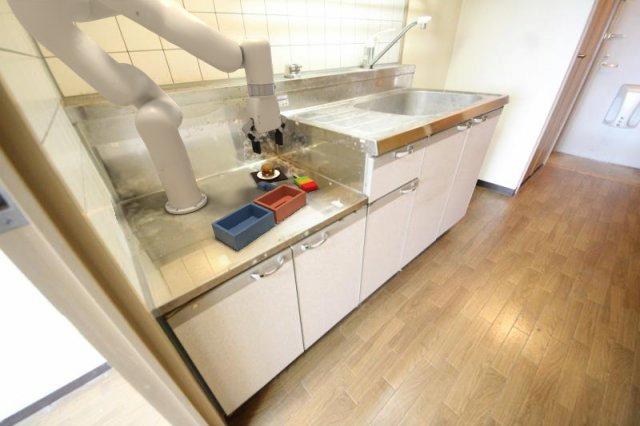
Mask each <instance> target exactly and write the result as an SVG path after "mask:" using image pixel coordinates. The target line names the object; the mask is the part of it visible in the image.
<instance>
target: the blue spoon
mask: <svg viewBox="0 0 640 426" xmlns="http://www.w3.org/2000/svg"><path fill="white" fill-rule="evenodd" d="M279 186H280V185H279ZM279 186H278V185H276V184H274V183H267V182H264V181H262V182H260V183H258V184H256V188H257V189H260V190H262V191H268V192H270V191H272V190H274V189H275V188H277V187H279Z"/></svg>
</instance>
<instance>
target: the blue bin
mask: <svg viewBox="0 0 640 426" xmlns="http://www.w3.org/2000/svg"><path fill="white" fill-rule="evenodd" d="M210 225H211V228H212V231H213V235H214V237H215V239H217V240H218V241H220V242H222V243H224V244H225V245H227V246H229V247H230V248H232V249H233V250H235V251H237V252H238V251H240V250H241V249H243V248H244V247H246V246H247V245H249V244H251V243H252V242H253V241H255V240H256V239H258V238H259V237H261V236H262V235H264V234H265V233H266V232H268V231H269V230H271V229H272V228H274V227H275V226H276V223H275V220H274V213H273V212H272V211H270V210H268V209H266V208H263V207H261V206H259V205H256V204H254V203H253V201H250V202H248V203H246V204H245V205H242V206H240V207H239V208H237V209H235V210H233V211H232V212H230V213H228V214H226V215H225V216H223V217H221V218H219V219H217V220H215V221H214V222H212V223H211V224H210Z"/></svg>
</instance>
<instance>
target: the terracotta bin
mask: <svg viewBox="0 0 640 426" xmlns="http://www.w3.org/2000/svg"><path fill="white" fill-rule="evenodd" d="M287 196H291V197H293V198H292V199H290V200H288V201H287V202H285V203H284V204H282V205H280V206H279V207H277V208H273V207H271V205H273V204H275V203H276V202H278V201H280V200H281V199H283V198H285V197H287ZM252 203H254V204H256V205H259V206H261V207H263V208H266V209H268V210H270V211H272V212H273V213H274V220H275V224H277V225H278V224H280V223H281V222H283V221H284V220H286V219H287V218H288V217H290V216H291V215H292V214H294V213H296V212H297V211H298V210H300V209H301V208H303V207H305V205H307V192H306V191H304V190H303V189H301V188H297V187H294V186H291V185H288V184H286V183H283V184H281V185H279V187H277V188H275V189H274V190H272V191H268V192H266V193H264V194H263V195H261V196H258V197H257V198H255V199H254V200H253V201H252Z"/></svg>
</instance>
